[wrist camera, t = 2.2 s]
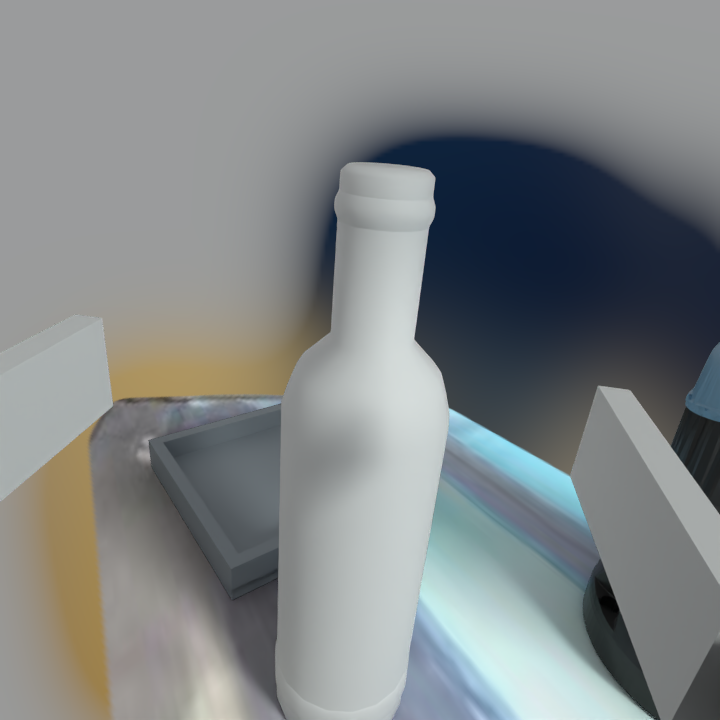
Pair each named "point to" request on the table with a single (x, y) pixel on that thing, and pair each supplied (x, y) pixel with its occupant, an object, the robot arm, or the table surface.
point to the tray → (228, 493)
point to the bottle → (360, 462)
